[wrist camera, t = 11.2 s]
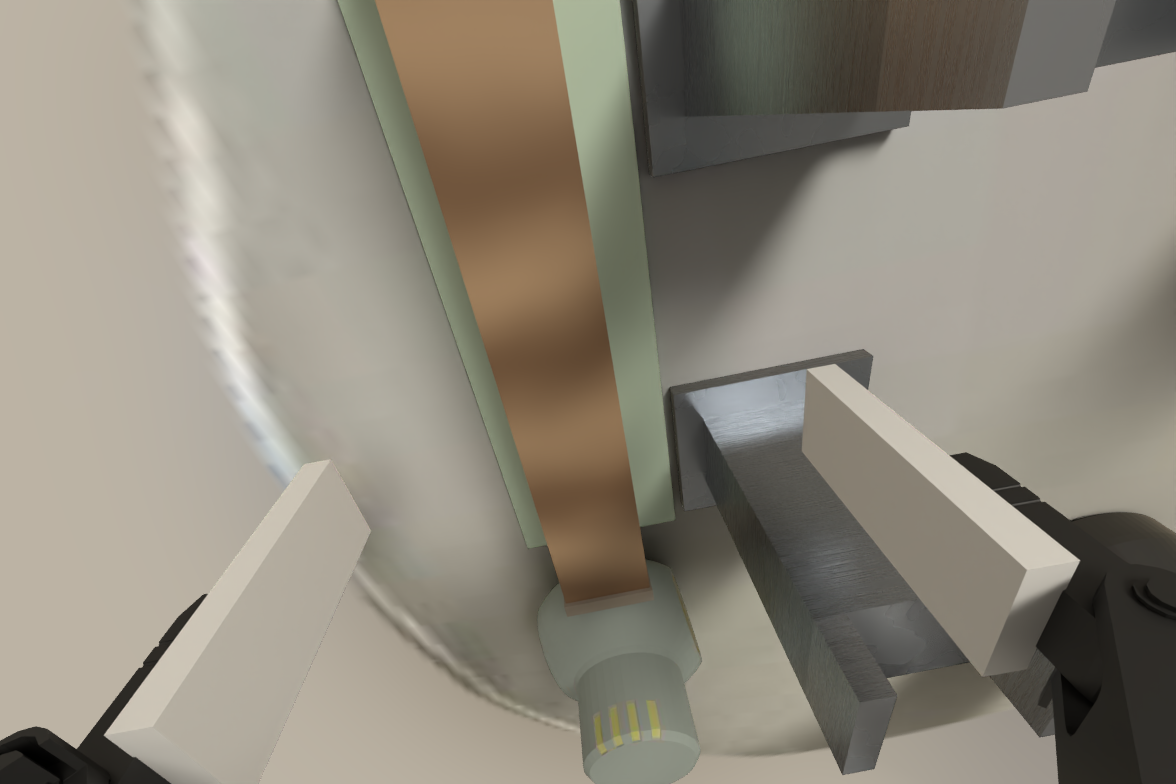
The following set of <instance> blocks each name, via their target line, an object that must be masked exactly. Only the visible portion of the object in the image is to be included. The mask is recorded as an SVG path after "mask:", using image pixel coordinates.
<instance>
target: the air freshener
mask: <svg viewBox="0 0 1176 784" xmlns="http://www.w3.org/2000/svg"><path fill="white" fill-rule="evenodd" d="M645 561H646V565H647V569H648V573H649V578H650V582H651V586H652V590H653V596H654V600H652V601H647V602H642V603H637V604H631V605H626V606H621V607H616V608H611V609H606V610H601V611H595V612H590V613H585V614H580V615H575V616H570V617H567V614H566V611H565V608H564V596H563V593H562V590H561V586H560V583H558V584H557V585H556V586H555V587H554V588H553V589H552V590H551V592H550V593H549V594H548V595H547V596H546V598H545V599H544V601H543V603H542V605H541V606H540V608H539V610H538V616H537V624H538V632H539V638H540V642H541V646H542V649H543V652H544V656H545V659H546V661H547V664H548V666H549V668H550V671H551V673H552V675H553V677H554V679H555V681H556V682H557V684H558V686H559V687H560V689H561V690H562V691H563V692H564V693H565V694H566V695H567V696H568V697H570V698H572V699H574V700H576V701H578V705H579V717H580V730H581V741H582V755H583V767H584V772H585V773H586V775H587V776H588V777H589V778H590V779H591V780H592V781H593V782H594V783H595V784H671V783H673V782H675V781H677V780H679V779H681V778H683V777H684V776H685V775H687V774H688V773H689V772H690V771H691V770H692V769H693V767H694V766H695V764H696V762H697V760H698V758H699V755H700V746H699V742H698V738H697V734H696V730H695V726H694V722H693V718H692V714H691V710H690V706H689V702H688V697H687V693H686V689H685V685H684V683H685V682H686V681H687V680H688V679H689V678H690V677H691V676H692V675H693V674H694V673H695V671H696V670H697V668H698V667H699V665H700V664H701V662H702V658H701V654H700V651H699V647H698V644H697V641H696V638H695V635H694V631H693V628H692V625H691V622H690V619H689V616H688V614H687V611H686V608H685V605H684V602H683V599H682V596H681V594H680V591H679V588H678V585H677V583H676V580H675V578H674V575H673V573H672V570H671V568H670V567H668V566H666V565H663V564H660V563H657V562H654V561H651V560H645Z"/></svg>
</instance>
